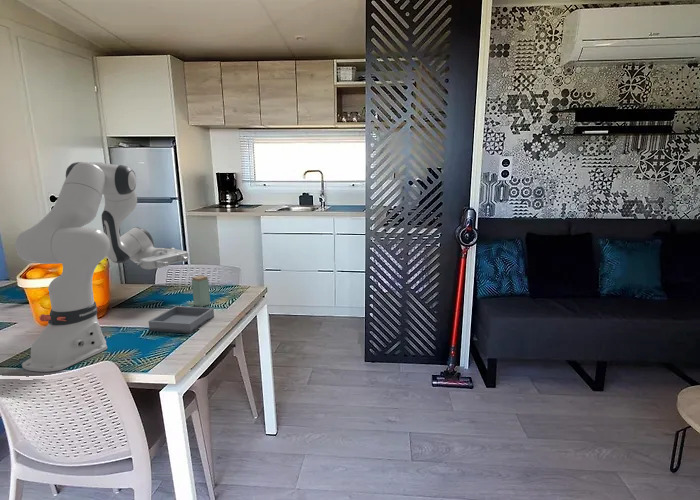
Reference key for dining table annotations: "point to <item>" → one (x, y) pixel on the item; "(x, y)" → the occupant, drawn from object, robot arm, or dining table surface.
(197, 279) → the spice jar
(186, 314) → the bin
